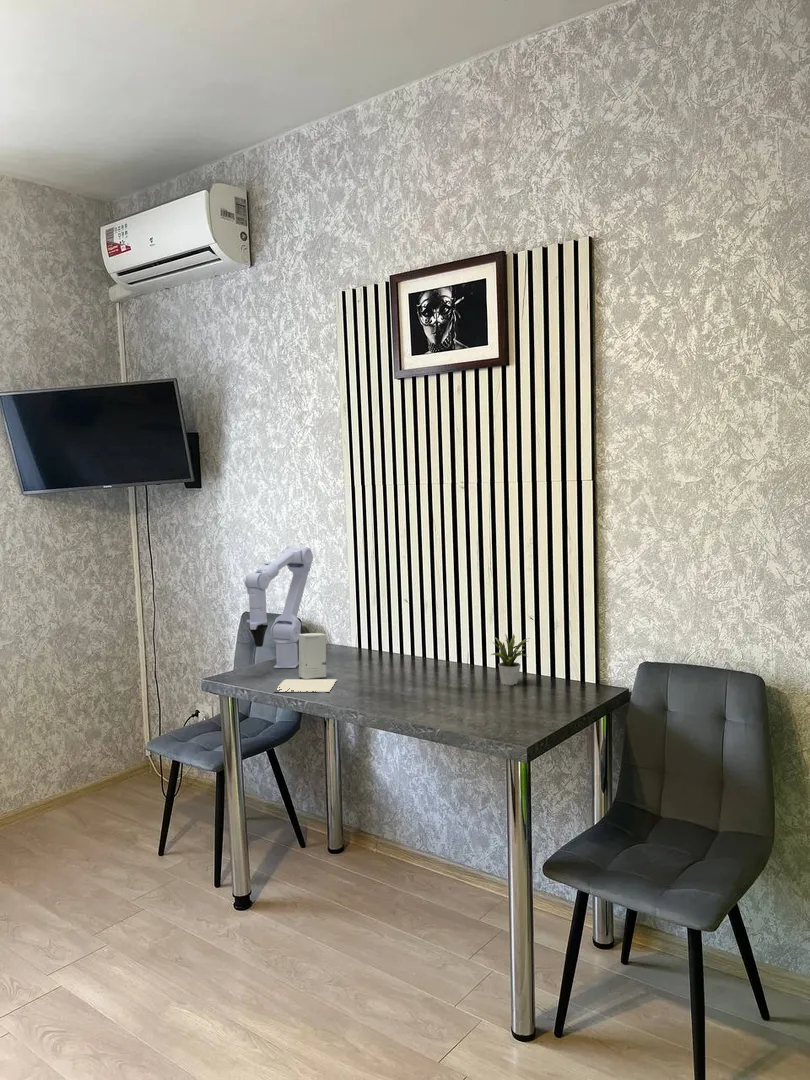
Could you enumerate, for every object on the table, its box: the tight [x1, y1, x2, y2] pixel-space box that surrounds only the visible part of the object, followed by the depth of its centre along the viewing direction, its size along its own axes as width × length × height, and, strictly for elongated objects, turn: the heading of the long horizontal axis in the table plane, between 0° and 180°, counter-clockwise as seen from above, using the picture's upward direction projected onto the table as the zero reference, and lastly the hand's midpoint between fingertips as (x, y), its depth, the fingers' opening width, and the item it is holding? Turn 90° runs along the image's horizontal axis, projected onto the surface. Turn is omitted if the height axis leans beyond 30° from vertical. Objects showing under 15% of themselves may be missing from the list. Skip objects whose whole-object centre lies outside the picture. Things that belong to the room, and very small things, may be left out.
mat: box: [276, 678, 338, 693], centre depth 260 cm, size 15×18×1 cm
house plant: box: [490, 633, 530, 686], centre depth 257 cm, size 14×14×16 cm
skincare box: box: [298, 632, 327, 679], centre depth 272 cm, size 8×6×15 cm
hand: (259, 646), depth 275 cm, fingers closed
